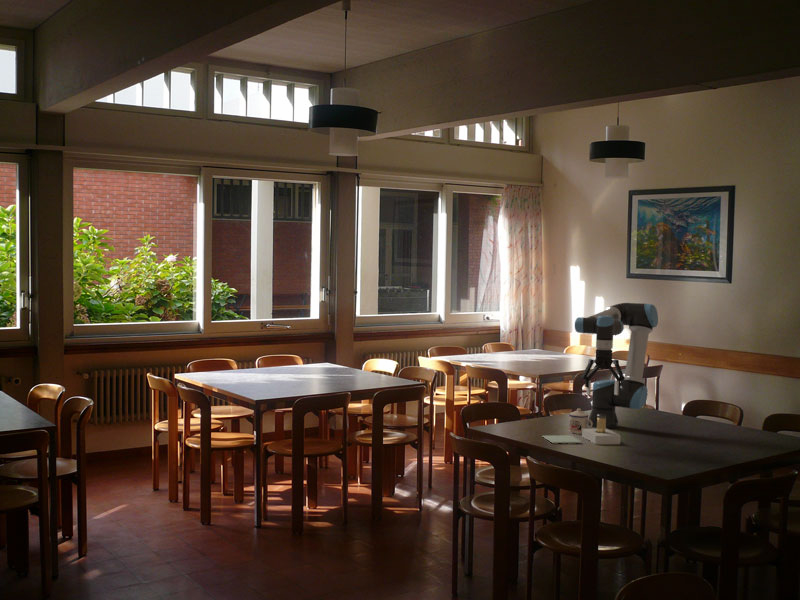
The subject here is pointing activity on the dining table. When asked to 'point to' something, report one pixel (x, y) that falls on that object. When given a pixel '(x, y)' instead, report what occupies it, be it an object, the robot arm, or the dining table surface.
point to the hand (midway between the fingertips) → (602, 394)
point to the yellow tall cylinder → (601, 423)
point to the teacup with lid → (579, 421)
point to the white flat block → (601, 436)
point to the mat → (562, 439)
